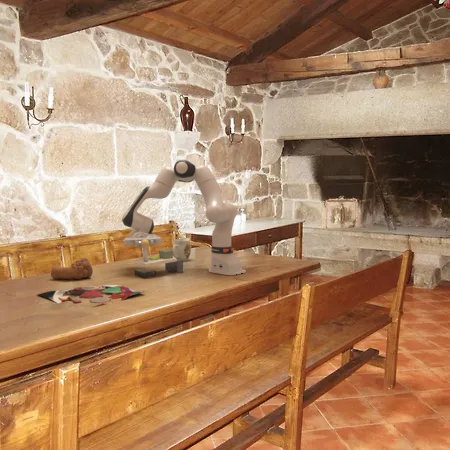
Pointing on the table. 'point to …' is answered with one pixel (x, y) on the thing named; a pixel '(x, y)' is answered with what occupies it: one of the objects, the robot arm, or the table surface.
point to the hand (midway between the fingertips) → (145, 243)
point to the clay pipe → (73, 270)
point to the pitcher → (182, 249)
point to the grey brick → (171, 266)
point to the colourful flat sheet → (91, 294)
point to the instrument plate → (154, 262)
